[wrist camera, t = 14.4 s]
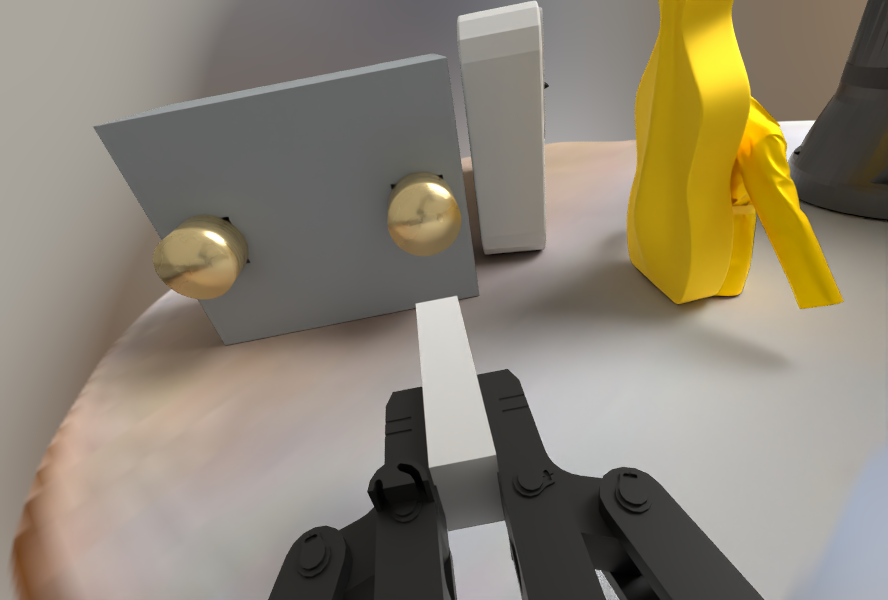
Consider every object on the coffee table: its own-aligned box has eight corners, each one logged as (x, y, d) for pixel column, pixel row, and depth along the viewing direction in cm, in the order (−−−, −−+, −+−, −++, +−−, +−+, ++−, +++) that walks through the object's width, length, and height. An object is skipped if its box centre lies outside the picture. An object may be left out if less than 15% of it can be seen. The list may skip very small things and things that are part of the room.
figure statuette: (852, 349, 21) (1235, -376, 9) (707, 378, 21) (900, -312, 9) (662, 222, 36) (713, -118, 24) (577, 239, 36) (585, -94, 24)
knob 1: (279, 234, 33) (257, 181, 30) (246, 291, 25) (213, 227, 23) (226, 244, 33) (200, 192, 30) (177, 305, 25) (136, 242, 23)
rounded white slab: (575, 257, 34) (580, -10, 24) (484, 265, 35) (453, 15, 25) (543, 160, 57) (539, 5, 47) (489, 167, 58) (474, 18, 49)
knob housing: (462, 246, 39) (433, 53, 30) (479, 295, 31) (447, 57, 22) (257, 286, 39) (168, 105, 30) (225, 345, 31) (93, 126, 22)
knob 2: (448, 201, 33) (439, 145, 30) (465, 248, 25) (455, 179, 23) (395, 211, 33) (382, 156, 30) (396, 262, 25) (379, 194, 23)
